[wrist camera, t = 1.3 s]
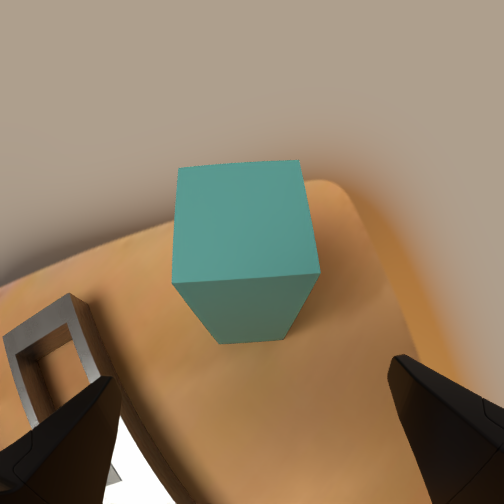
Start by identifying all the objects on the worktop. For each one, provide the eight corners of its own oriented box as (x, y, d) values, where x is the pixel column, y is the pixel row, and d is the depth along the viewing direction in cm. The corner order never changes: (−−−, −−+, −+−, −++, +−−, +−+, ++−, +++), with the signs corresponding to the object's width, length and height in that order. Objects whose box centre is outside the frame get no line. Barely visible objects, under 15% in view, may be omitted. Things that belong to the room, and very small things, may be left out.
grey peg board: (222, 535, 14) (217, 554, 11) (138, 559, 12) (125, 574, 10) (87, 304, 22) (68, 292, 19) (23, 343, 20) (1, 336, 17)
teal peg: (283, 339, 21) (320, 272, 9) (219, 344, 21) (171, 282, 9) (276, 280, 23) (299, 160, 11) (216, 284, 23) (178, 168, 11)
